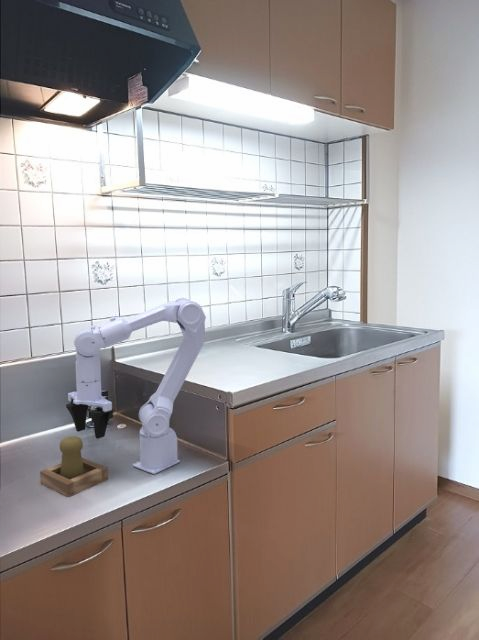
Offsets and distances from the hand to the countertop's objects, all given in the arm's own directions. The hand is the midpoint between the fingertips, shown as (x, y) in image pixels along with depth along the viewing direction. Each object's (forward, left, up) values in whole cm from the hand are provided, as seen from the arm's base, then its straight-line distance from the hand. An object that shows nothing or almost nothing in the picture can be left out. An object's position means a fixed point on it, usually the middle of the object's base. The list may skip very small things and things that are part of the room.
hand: (90, 433), depth 122 cm
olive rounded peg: (+5, 0, -11) cm, 12 cm away
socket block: (+5, 0, -10) cm, 12 cm away
